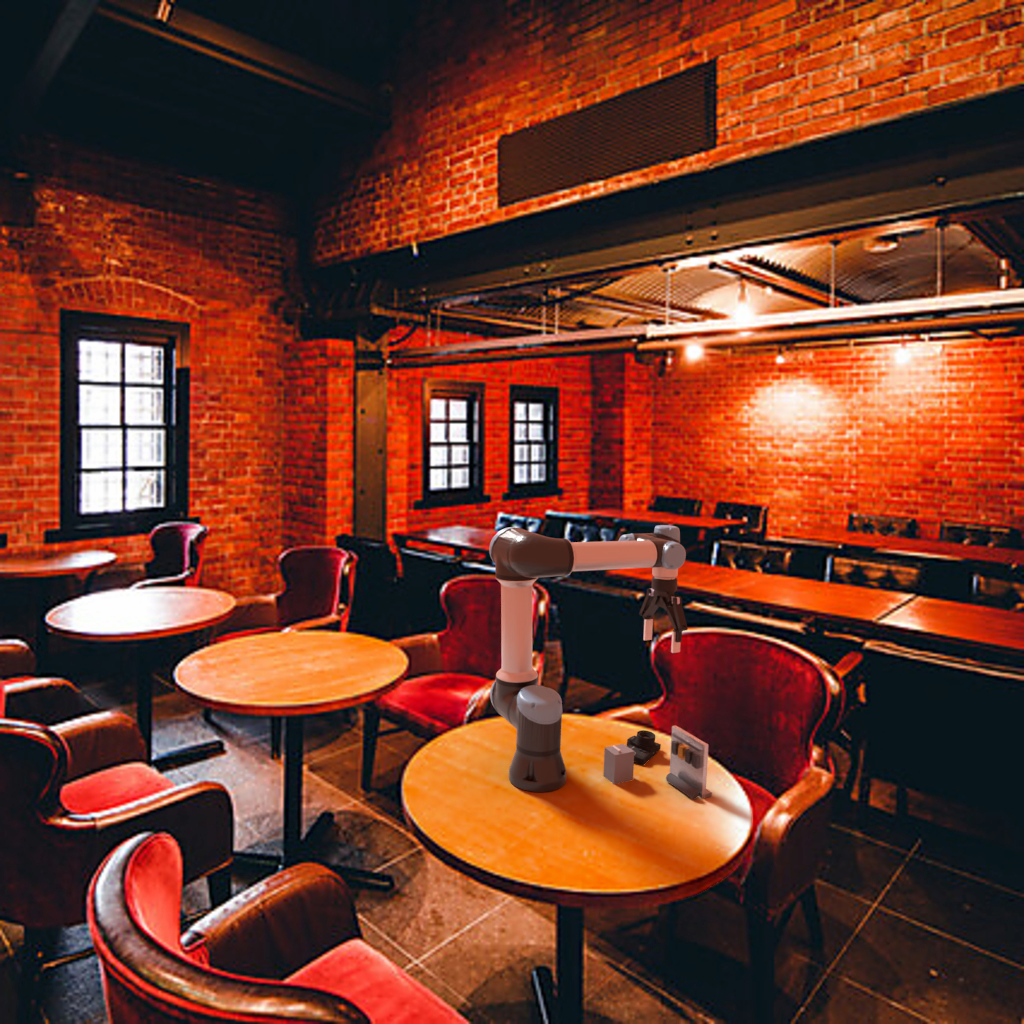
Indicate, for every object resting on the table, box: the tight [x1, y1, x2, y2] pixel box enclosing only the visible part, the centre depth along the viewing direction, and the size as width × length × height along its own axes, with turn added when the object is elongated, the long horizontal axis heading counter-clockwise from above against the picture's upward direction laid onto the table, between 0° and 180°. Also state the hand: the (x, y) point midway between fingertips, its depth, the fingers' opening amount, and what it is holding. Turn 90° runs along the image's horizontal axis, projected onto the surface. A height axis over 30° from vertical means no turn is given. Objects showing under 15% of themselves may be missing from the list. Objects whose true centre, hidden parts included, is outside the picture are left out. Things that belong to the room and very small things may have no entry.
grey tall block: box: [602, 743, 635, 785], centre depth 194 cm, size 7×5×9 cm
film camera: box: [626, 730, 662, 766], centre depth 209 cm, size 13×8×10 cm
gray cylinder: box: [665, 772, 699, 800], centre depth 188 cm, size 10×2×2 cm, turn 26°
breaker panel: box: [669, 725, 713, 799], centre depth 190 cm, size 4×13×14 cm, turn 26°
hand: (661, 645), depth 222 cm, fingers open, 13 cm apart
